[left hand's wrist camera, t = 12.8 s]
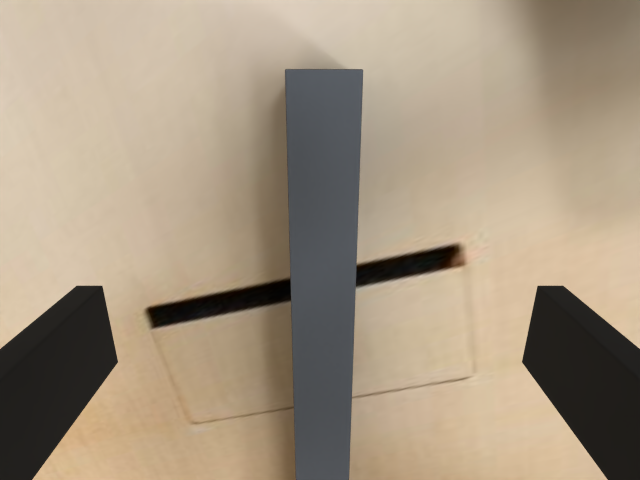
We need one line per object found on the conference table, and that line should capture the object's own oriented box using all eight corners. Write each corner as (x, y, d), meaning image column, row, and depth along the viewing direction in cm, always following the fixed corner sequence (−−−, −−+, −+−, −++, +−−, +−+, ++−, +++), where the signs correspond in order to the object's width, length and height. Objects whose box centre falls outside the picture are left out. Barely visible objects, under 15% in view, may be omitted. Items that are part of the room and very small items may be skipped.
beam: (293, 72, 34) (285, 69, 26) (352, 73, 34) (363, 69, 26) (303, 567, 56) (300, 648, 48) (339, 567, 56) (343, 648, 48)
